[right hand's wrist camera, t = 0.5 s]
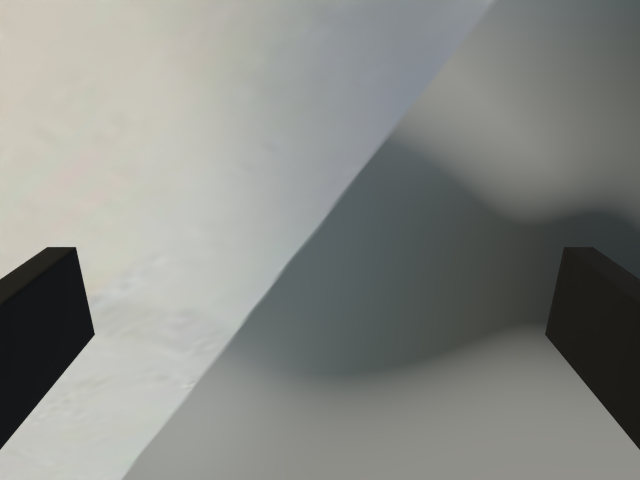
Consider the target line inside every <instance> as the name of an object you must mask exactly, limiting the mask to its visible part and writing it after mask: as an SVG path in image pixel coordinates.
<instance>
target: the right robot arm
mask: <svg viewBox="0 0 640 480" xmlns="http://www.w3.org/2000/svg"><path fill="white" fill-rule="evenodd" d="M94 335H95V333H94V329H93V324H92V319H91V315H90V310H89V306H88V301H87V296H86V292H85V287H84V283H83V278H82V273H81V269H80V264H79V259H78V255H77V250H76V247H47V248H45V249H44V250H43V251H41V252H40V253H38V254H37V255H35V256H34V257H32V258H31V259H29V260H28V261H26V262H25V263H24V264H22V265H21V266H19V267H18V268H16V269H15V270H13V271H12V272H10V273H9V274H8V275H6V276H5V277H3V278H2V279H0V449H1V448H2V447H3V446H4V444H5V443H6V442H7V441H8V440H9V438H10V437H11V436H12V435H13V434H14V432H15V431H16V430H17V429H18V427H19V426H20V425H21V424H22V423H23V421H24V420H25V419H26V418H27V416H28V415H29V414H30V413H31V412H32V410H33V409H34V408H35V407H36V406H37V404H38V403H39V402H40V401H41V399H42V398H43V397H44V396H45V395H46V393H47V392H48V391H49V390H50V388H51V387H52V386H53V385H54V384H55V382H56V381H57V380H58V379H59V378H60V376H61V375H62V374H63V373H64V371H65V370H66V369H67V368H68V367H69V365H70V364H71V363H72V362H73V360H74V359H75V358H76V357H77V356H78V354H79V353H80V352H81V351H82V350H83V348H84V347H85V346H86V345H87V343H88V342H89V341H90V340H91V339H92V337H93V336H94ZM545 335H546V336H547V337H548V339H549V340H550V341H551V342H552V343H553V345H554V346H555V347H556V348H557V349H558V351H559V352H560V353H561V354H562V356H563V357H564V358H565V359H566V360H567V362H568V363H569V364H570V365H571V367H572V368H573V369H574V370H575V371H576V373H577V374H578V375H579V376H580V378H581V379H582V380H583V381H584V382H585V384H586V385H587V386H588V387H589V388H590V390H591V391H592V392H593V393H594V395H595V396H596V397H597V398H598V399H599V401H600V402H601V403H602V404H603V406H604V407H605V408H606V409H607V410H608V412H609V413H610V414H611V415H612V416H613V418H614V419H615V420H616V421H617V423H618V424H619V425H620V426H621V427H622V429H623V430H624V431H625V432H626V434H627V435H628V436H629V437H630V438H631V440H632V441H633V442H634V443H635V444H636V446H637V447H638V448H639V449H640V279H638V278H637V277H635V276H634V275H632V274H631V273H630V272H628V271H627V270H625V269H624V268H622V267H621V266H619V265H618V264H616V263H615V262H613V261H612V260H611V259H609V258H608V257H606V256H605V255H603V254H602V253H600V252H599V251H597V250H596V249H595V248H593V247H564V250H563V255H562V259H561V264H560V269H559V273H558V278H557V283H556V287H555V292H554V296H553V301H552V306H551V310H550V315H549V319H548V324H547V329H546V333H545Z"/></svg>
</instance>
